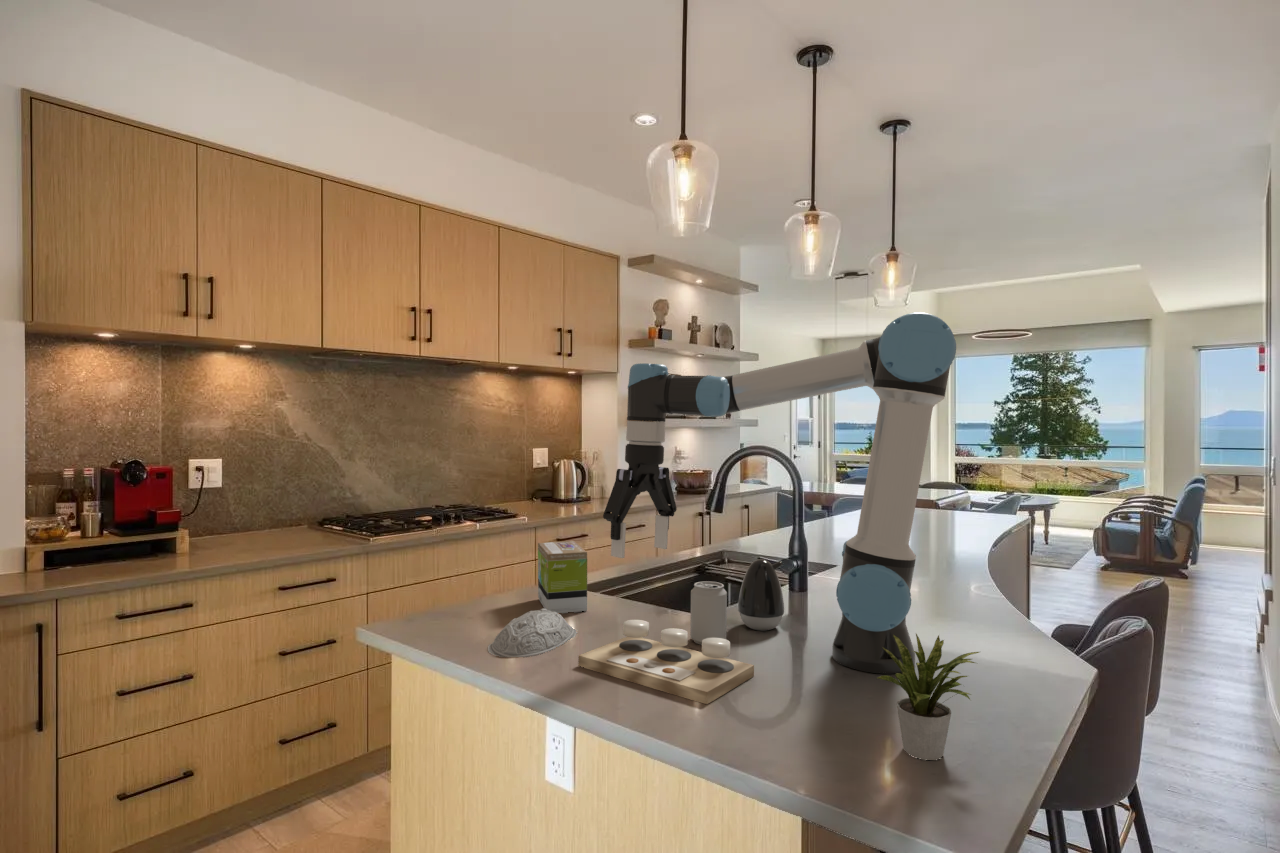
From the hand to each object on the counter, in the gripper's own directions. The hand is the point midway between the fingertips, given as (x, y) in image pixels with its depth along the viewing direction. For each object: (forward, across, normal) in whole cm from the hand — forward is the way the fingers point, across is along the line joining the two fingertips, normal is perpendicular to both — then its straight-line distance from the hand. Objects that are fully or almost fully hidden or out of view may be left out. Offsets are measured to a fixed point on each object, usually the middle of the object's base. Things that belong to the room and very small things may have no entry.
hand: (639, 552), depth 135 cm
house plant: (+18, +7, +57) cm, 60 cm away
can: (+20, -16, +6) cm, 27 cm away
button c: (+16, +1, 0) cm, 16 cm away
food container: (+22, +6, -22) cm, 32 cm away
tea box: (+21, -17, -37) cm, 46 cm away
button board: (+20, +4, +10) cm, 22 cm away
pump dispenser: (+20, -32, +10) cm, 39 cm away
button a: (+15, 0, +18) cm, 24 cm away
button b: (+15, +1, +9) cm, 18 cm away
